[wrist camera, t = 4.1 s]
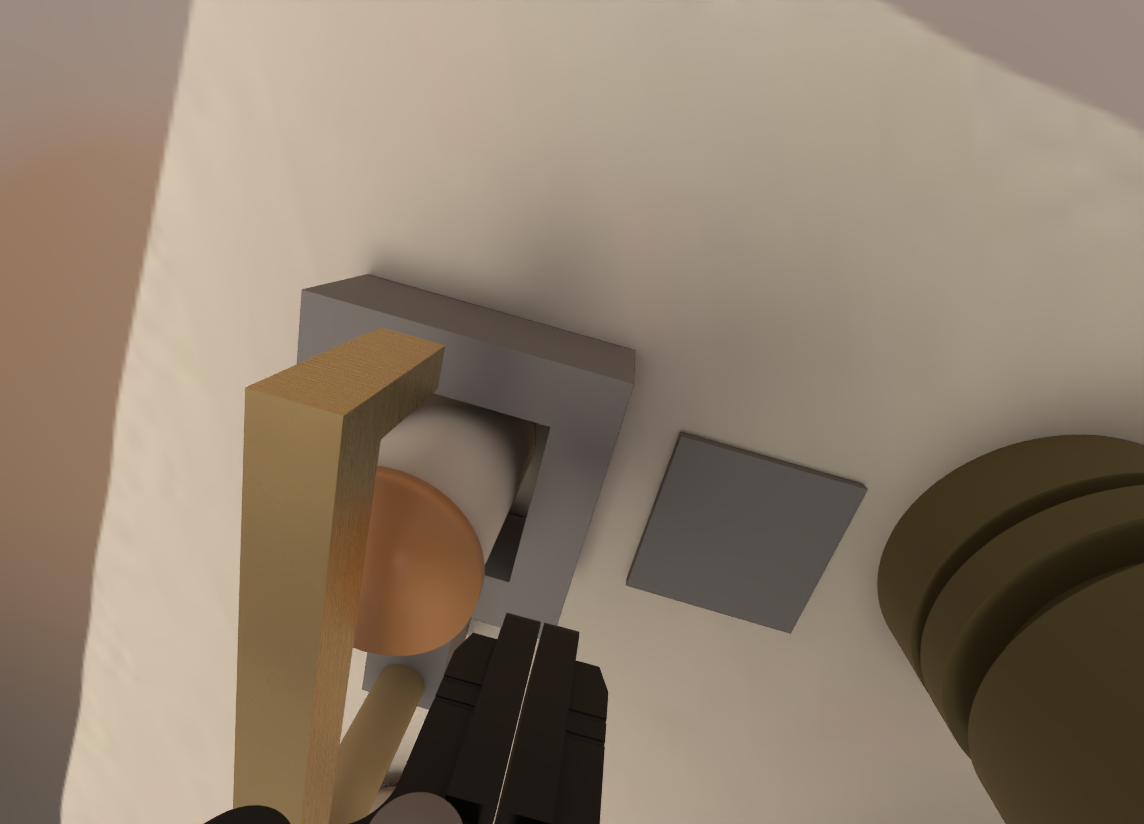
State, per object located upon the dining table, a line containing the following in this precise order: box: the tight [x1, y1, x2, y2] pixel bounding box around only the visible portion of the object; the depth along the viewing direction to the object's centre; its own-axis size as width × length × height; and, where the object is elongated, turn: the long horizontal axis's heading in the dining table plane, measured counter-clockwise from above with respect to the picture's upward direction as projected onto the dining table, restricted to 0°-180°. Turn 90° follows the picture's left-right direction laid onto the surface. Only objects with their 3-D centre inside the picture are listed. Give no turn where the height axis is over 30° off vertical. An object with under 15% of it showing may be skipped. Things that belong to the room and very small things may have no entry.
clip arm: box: [233, 327, 445, 824], centre depth 12 cm, size 3×16×4 cm, turn 166°
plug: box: [353, 393, 535, 656], centre depth 17 cm, size 5×5×9 cm
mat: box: [626, 432, 868, 634], centre depth 21 cm, size 7×7×1 cm
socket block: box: [297, 274, 635, 824], centre depth 17 cm, size 10×15×11 cm, turn 165°
